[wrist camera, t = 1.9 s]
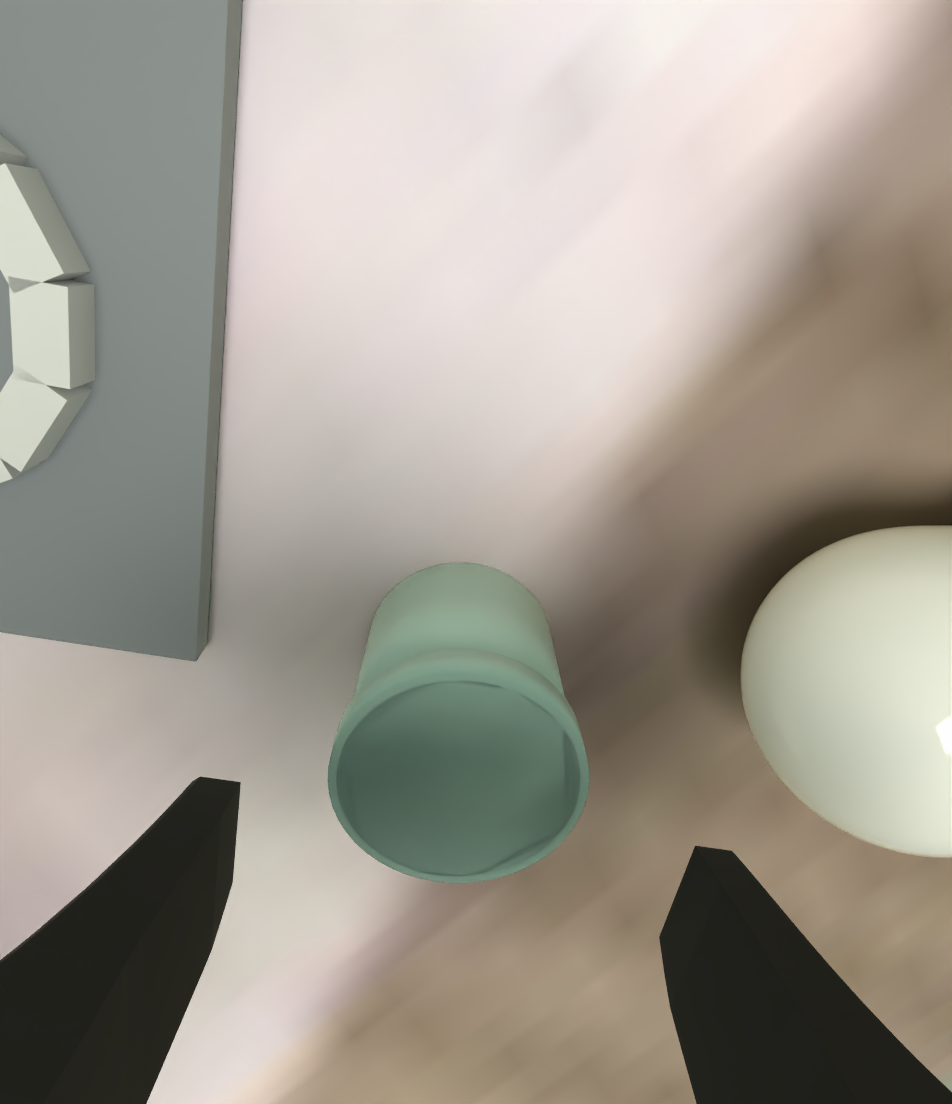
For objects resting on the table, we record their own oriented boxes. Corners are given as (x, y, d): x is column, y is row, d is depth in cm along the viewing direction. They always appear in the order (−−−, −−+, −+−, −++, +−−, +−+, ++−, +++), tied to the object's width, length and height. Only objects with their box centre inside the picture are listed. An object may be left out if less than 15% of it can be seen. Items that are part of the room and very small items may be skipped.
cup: (533, 738, 19) (556, 897, 14) (352, 711, 19) (314, 865, 14) (577, 574, 17) (618, 695, 13) (377, 541, 17) (343, 653, 12)
